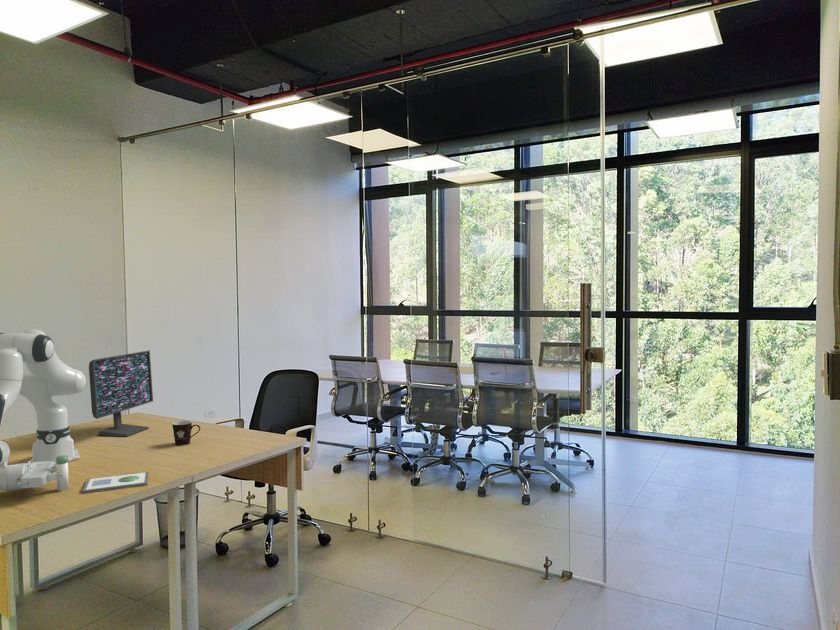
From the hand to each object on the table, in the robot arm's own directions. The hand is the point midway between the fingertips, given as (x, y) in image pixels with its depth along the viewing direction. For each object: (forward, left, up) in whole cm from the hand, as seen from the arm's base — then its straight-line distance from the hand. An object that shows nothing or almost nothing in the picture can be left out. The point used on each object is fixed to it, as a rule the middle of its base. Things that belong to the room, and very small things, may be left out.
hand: (65, 471), depth 210 cm
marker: (0, -1, -7) cm, 7 cm away
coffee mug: (-49, +42, -7) cm, 65 cm away
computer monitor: (-87, +14, -7) cm, 88 cm away
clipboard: (+1, +17, -7) cm, 18 cm away
